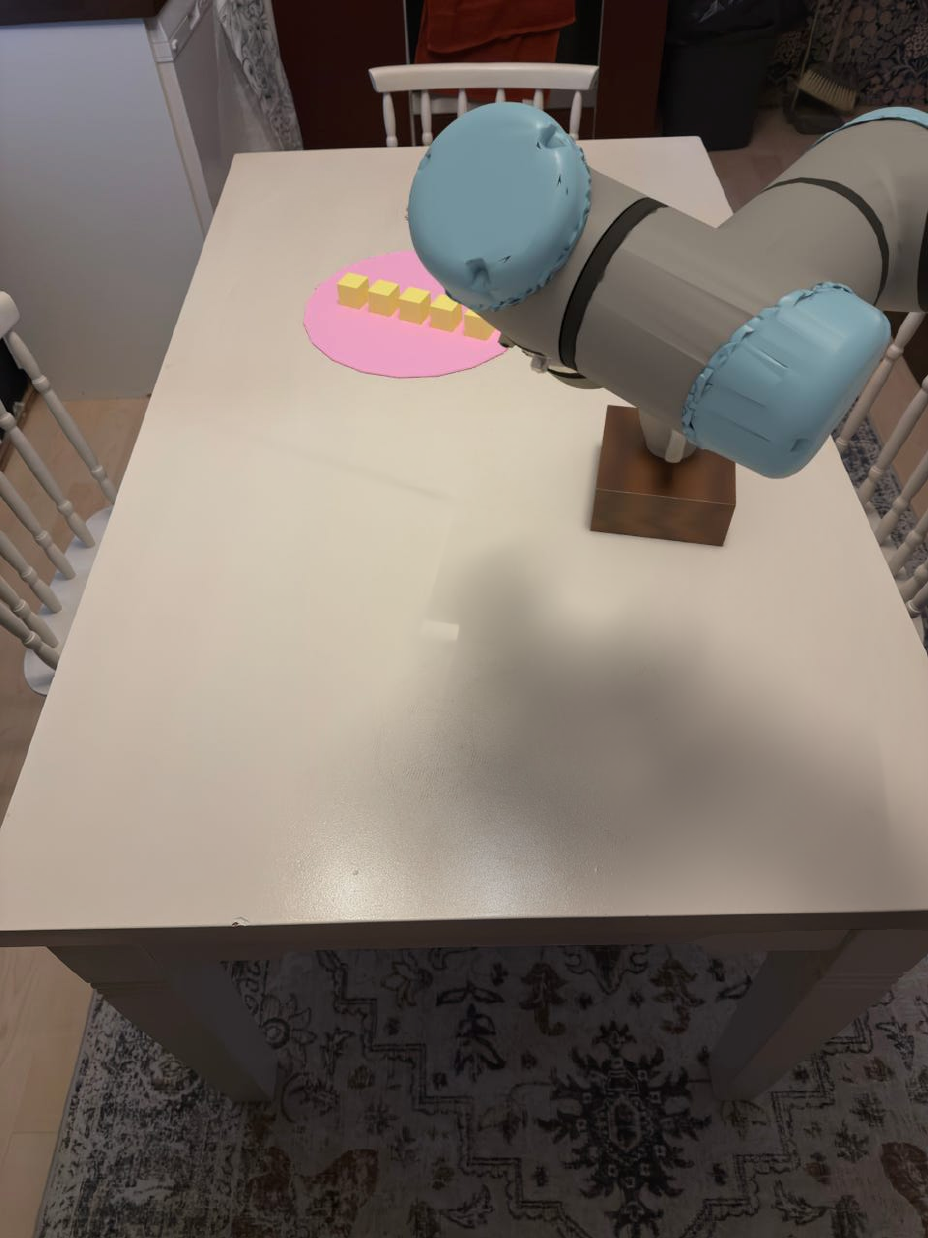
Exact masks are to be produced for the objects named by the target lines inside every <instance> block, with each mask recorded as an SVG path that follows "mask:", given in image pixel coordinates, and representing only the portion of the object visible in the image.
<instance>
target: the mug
mask: <svg viewBox="0 0 928 1238" xmlns="http://www.w3.org/2000/svg"><path fill="white" fill-rule="evenodd" d="M638 410H639V418H640V423H641V427H642V430H643V433H644V436H645V440H646V445H647V447H648V449H649V450H650V451H651V452H652V453H653V454H655V455H656V456H659V457H661V458H664V459H665V460H666V461H667V462H671V463H677V462H680V460H681V459H683V458H686V457H688V456H690V455H691V454H692V453H693V452H694V451H695V449H696V447H697V446H696V445H695V444H692V443H690V442H689V441H688V439H686V438H685V437H684V436H683V435H681V434H679V433H678V432H676V431H675V430H673V429H671V428H670V427H668V426H666V425H665V424H663V423H661V422H660V421H658V420H656V419H655V418H653V417H651V416H650V415H648V414H646V413H645V412H643V411H641V410H640V409H638Z"/></svg>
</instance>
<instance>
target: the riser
mask: <svg viewBox="0 0 928 1238" xmlns="http://www.w3.org/2000/svg"><path fill="white" fill-rule="evenodd" d="M736 469H737V463H735V462H733V461H731V460H729V459H727V458H725V457H723V456H721V455H719V454H717V453H715V452H713V451H710V450H708V449H703V450H702V449H700V448H698V447H696V449H695V451H694V452H693V453H692V454H691V455H690V456H688V457H686V458H683V459H681V460H680V462H677V463H671V462H667V461H666V460H665V459H664V458H661V457H659V456H656V455H655V454H653V453H652V452H651V451H650V450H649V449H648V447H647V445H646V440H645V436H644V433H643V430H642V427H641V423H640V418H639V410H638V408H636V407H635V406H623V405H615V404H607V405H606V412H605V419H604V427H603V434H602V442H601V448H600V456H599V463H598V470H597V477H596V484H595V491H594V499H593V505H592V506H593V507H592V512H591V513H592V514H591V519H590V521H591V522H590V528H589V529H590V531H593V532H594V531H595V532H602V533H611V534H619V535H629V536H635V537H636V536H637V537H644V538H651V539H652V538H653V539H662V540H668V541H669V540H671V541H678V542H686V543H694V544H701V545H702V544H703V545H710V546H718V547H723V546H724V545H725V541H726V538H727V535H728V531H729V528H730V525H731V523H732V519H733V516H734V513H735V510H736V507H737V475H736V474H737V472H736Z"/></svg>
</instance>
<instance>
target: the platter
mask: <svg viewBox="0 0 928 1238" xmlns="http://www.w3.org/2000/svg"><path fill="white" fill-rule="evenodd" d="M303 325H304V328H305V330H306V332H307V335H308V337H309V339H310V341H311V344H312V345H314V346H315V347H316V348H317V349H318V350H319V351H320V352H322V353H323V354H324V355H325V356H327V358H329V359H330V360H331V361H333V362H336V363H338V364H340V365H343V366H345V367H347V368H350V369H353V370H355V371H357V372H360V373H363V374H368V375H369V374H370V375H376V376H383V377H389V378H396V379H408V378H412V379H413V378H432V377H433V378H434V377H441V376H446V375H449V374H454V373H456V372H457V373H458V372H462V371H466V370H470V369H474V368H476V367H479V366H480V365H482V364H484V363H487V362H488V361H491V360H493V359H495V358H497V357H499V356H500V355H502V354H504V353H506V352H507V350H508V349H509V348H504V347H502V346H501V345H500V344H499V343H498V340H499V337H500V334H501V332H500V331H498V330H497V329H495V328H494V327H493V326H491V325H490V324H489V323H488V322H486V321H485V320H484V319H482V318H481V317H480V316H479V315H477V314H476V313H474V312H473V311H472V310H470V309H468V308H467V307H465V306H464V305H462V304H458V303H457V302H454V301H453V300H451V299H450V298H449V297H448V296H447V295H446V294H445V289H444V288H443V287H442V286H441V285H440V284H439V282H438V281H437V280H436V279H435V278H434V277H433V276H432V275H431V274H430V273H429V272H428V271H427V270H426V269H425V267H424V266H423V264H422V263H421V261H420V260H419V258H418V256H417V254H416V252H415V249H414V250H399V251H394V252H388V253H384V254H379V255H375V256H370V257H367V258H365V259H362V260H360V261H357V262H354V263H352V264H349V265H347V266H344V267H342V268H340V269H339V270H337V271H336V272H335V273H332V274H331V276H329V277H327V278H326V279H325V280H324V281H322V282H321V283H319V284H318V286H317V287H316V289H315V290H314V291H313V293H312V294H311V296H310V297H309V298H308V299H307V301H306V302H305V310H304V316H303Z"/></svg>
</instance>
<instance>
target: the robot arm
mask: <svg viewBox="0 0 928 1238" xmlns="http://www.w3.org/2000/svg"><path fill="white" fill-rule="evenodd" d="M407 206H408V209H407V214H408V219H407V224H408V225H407V226H408V230H409V236H410V240H411V244H412V247H413V249H414V250H415V252H416V254H417V256H418V258H419V260H420V261H421V263H422V264H423V266H424V267H425V269H426V270H427V271H428V272H429V273H430V274H431V275H432V276H433V277H434V278H435V279H436V280H437V281H438V282H439V284H440V285H441V286H442V287H443V288H444V289H445V294H446V295H447V296H448V297H449V298H450V299H451V300H453V301H454V302H457V303H458V304H462V305H464V306H465V307H467V308H468V309H470V310H472V311H473V312H474V313H476V314H477V315H479V316H480V317H481V318H482V319H484V320H485V321H486V322H488V323H489V324H490V325H491V326H493V327H494V328H495V329H497V330H498V331H500V332H501V334H500V337H499V340H498V343H499V344H500V345H501V346H502V347H504V348H508V349H513V348H514V347H517V348H519V349H521V352H522V353H523V354H524V355H525V356H526V357H529V358H531V360H530V364H529V367H530V369H531V370H532V371H534V372H535V373H537V374H546V373H548V374H550V375H551V376H552V377H554V378H555V379H556V380H557V381H559V382H560V383H562V384H564V385H567V386H569V387H572V388H576V389H580V390H598V389H605V390H607V391H608V392H610V393H612V394H614V395H615V396H616V397H618V398H619V399H621V400H623V401H624V402H626V403H627V404H629V405H631V406H632V407H635V408H638V409H640V410H641V411H643V412H645V413H646V414H648V415H650V416H651V417H653V418H655V419H656V420H658V421H660V422H661V423H663V424H665V425H666V426H668V427H670V428H671V429H673V430H675V431H676V432H678V433H679V434H681V435H683V436H684V437H685V438H686V439H688V441H689V442H690V443H692V444H695V445H696V446H697V447H698V448H700V449H702V450H703V449H708V450H710V451H713V452H715V453H717V454H719V455H721V456H723V457H725V458H727V459H729V460H731V461H733V462H735V463H736V464H737V465H740V466H742V467H744V468H746V469H748V470H749V471H752V472H754V473H755V474H758V475H760V476H762V477H764V478H767V479H772V480H781V479H782V480H783V479H787V478H789V477H792V476H794V475H797V474H798V473H799V472H800V471H802V470H804V469H805V467H806V466H808V464H810V463H811V461H812V460H813V459H814V458H815V457H816V455H817V454H818V453H819V452H820V451H821V449H822V448H823V446H824V445H825V443H826V442H827V441H828V439H829V438H830V436H831V435H832V433H833V432H834V430H835V429H837V427H838V426H839V424H840V423H841V422H842V420H843V419H844V417H846V415H847V413H848V412H849V410H850V408H851V407H852V405H854V403H855V401H856V399H857V398H858V397H859V395H860V393H861V392H862V391H863V389H864V387H865V386H866V384H867V382H868V381H869V379H870V378H871V376H872V374H873V373H874V371H875V369H876V368H877V366H878V364H879V363H880V361H881V359H882V357H883V355H884V353H885V351H886V350H887V348H888V345H889V342H890V340H891V335H892V329H891V323H890V321H889V319H888V317H887V316H886V315H885V314H884V313H883V312H882V311H886V312H899V313H900V312H901V313H917V314H918V313H919V314H928V113H927V112H924V111H922V110H920V109H917V108H913V107H907V106H891V107H890V106H889V107H883V108H878V109H875V110H872V111H870V112H866V113H864V114H862V115H860V116H858V117H856V118H854V119H852V120H851V121H849V122H845V123H844V125H842V126H841V127H839V128H837V129H835V130H833V131H830V132H826V133H825V134H824V135H823V136H821V137H820V138H819V139H817V140H816V141H815V142H814V143H813V144H812V145H811V146H810V147H809V148H808V149H807V150H806V151H805V152H803V154H802V155H801V156H800V157H799V158H798V159H797V160H796V161H795V162H794V163H792V164H791V165H790V166H789V167H788V168H786V169H785V170H784V171H783V172H781V173H780V174H779V176H778V177H776V178H775V179H774V180H773V181H772V182H770V183H769V184H768V185H767V186H766V187H765V188H763V189H762V190H761V191H760V192H759V193H757V195H755V196H753V197H752V198H751V199H750V200H749V201H748V202H747V203H745V204H744V205H743V206H742V207H740V209H738V210H737V211H735V213H733V214H732V215H731V216H729V217H728V218H726V219H725V220H724V221H723V222H722V223H721V224H719V225H718V226H717V227H714V226H712V225H710V224H708V223H706V222H704V221H702V220H699V219H698V218H696V217H694V216H691V215H690V214H687V213H685V212H683V211H681V210H679V209H677V208H675V207H673V206H670V205H668V204H666V203H664V202H662V201H659V200H657V199H655V198H652V197H650V196H648V195H646V194H645V193H643V192H641V191H639V190H637V189H635V188H633V187H631V186H629V185H627V184H625V183H623V182H621V181H619V180H616V179H614V178H612V177H610V176H608V175H606V174H604V173H602V172H600V171H598V170H596V169H595V168H593V167H591V165H589V164H588V163H587V159H586V156H585V152H584V150H583V148H582V147H581V146H579V145H577V144H576V140H575V138H574V137H573V136H572V135H570V134H568V133H566V131H565V130H564V129H563V127H562V126H561V125H560V123H559V122H557V121H556V120H555V118H553V117H552V116H551V115H549V114H548V113H547V112H545V111H543V110H542V109H539V108H537V107H535V106H533V105H530V104H526V103H523V102H516V101H515V102H514V101H498V102H492V103H487V104H484V105H480V106H478V107H476V108H473V109H471V110H469V111H467V112H465V113H464V114H462V115H461V116H459V117H457V118H455V119H454V120H453V121H452V122H450V124H448V125H447V126H446V127H445V128H444V129H443V130H441V132H440V133H439V134H438V135H437V136H436V137H435V139H434V140H433V141H432V143H431V144H430V146H429V147H428V148H427V150H426V153H425V154H424V155H423V157H422V158H421V160H420V161H419V163H418V167H417V170H416V172H415V174H414V176H413V178H412V182H411V186H410V190H409V194H408V203H407Z"/></svg>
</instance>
